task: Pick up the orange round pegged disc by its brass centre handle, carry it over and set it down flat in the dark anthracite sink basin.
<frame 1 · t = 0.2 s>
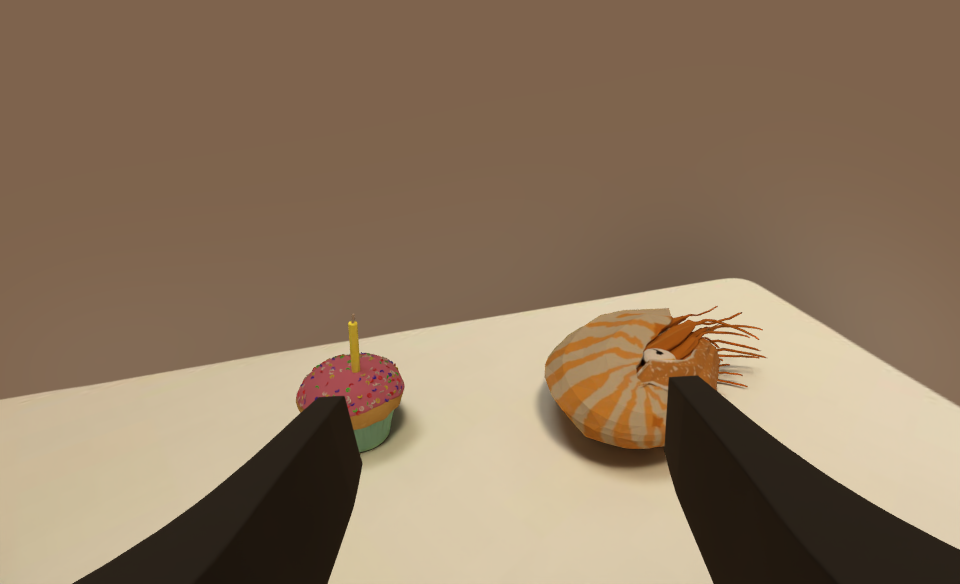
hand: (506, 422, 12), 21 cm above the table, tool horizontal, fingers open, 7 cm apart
cupcake: (360, 436, 45), on the table
nautilus shell: (664, 407, 46), on the table
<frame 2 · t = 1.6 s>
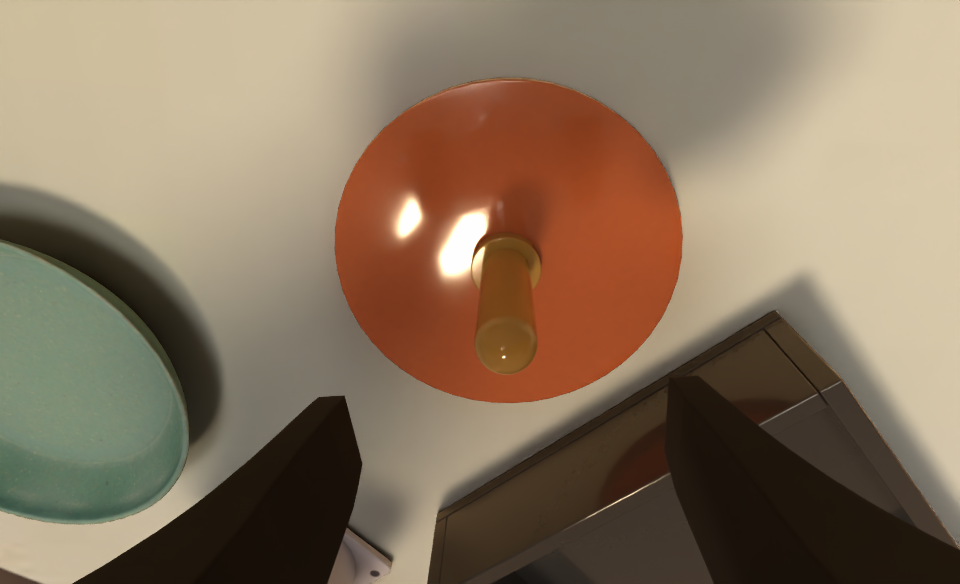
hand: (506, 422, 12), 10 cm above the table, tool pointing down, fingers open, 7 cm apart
sink: (698, 541, 27), on the table
saucer: (58, 360, 24), on the table
orange round pegged disc: (505, 255, 21), on the table
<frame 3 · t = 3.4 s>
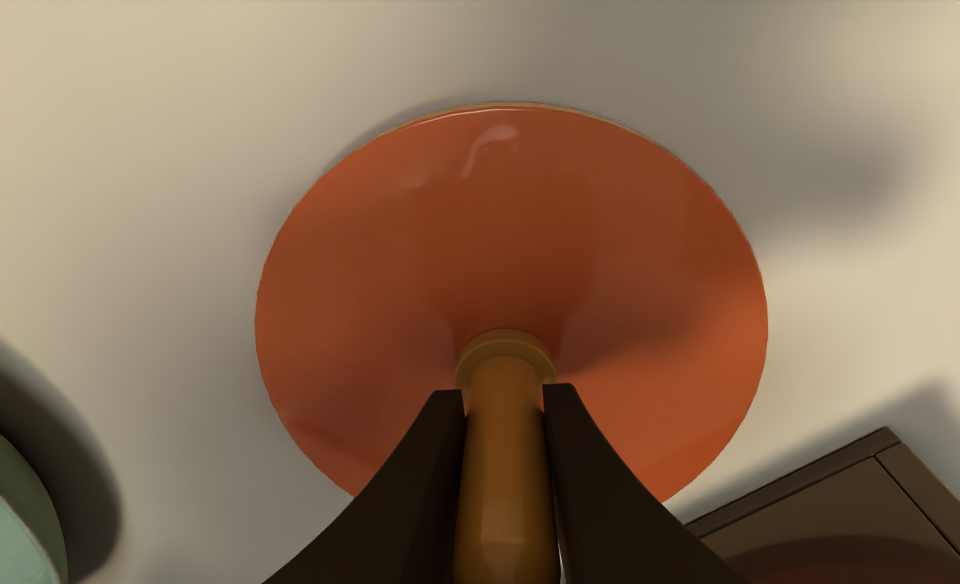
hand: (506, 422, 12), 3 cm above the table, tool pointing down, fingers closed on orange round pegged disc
orange round pegged disc: (505, 352, 14), on the table, touching gripper
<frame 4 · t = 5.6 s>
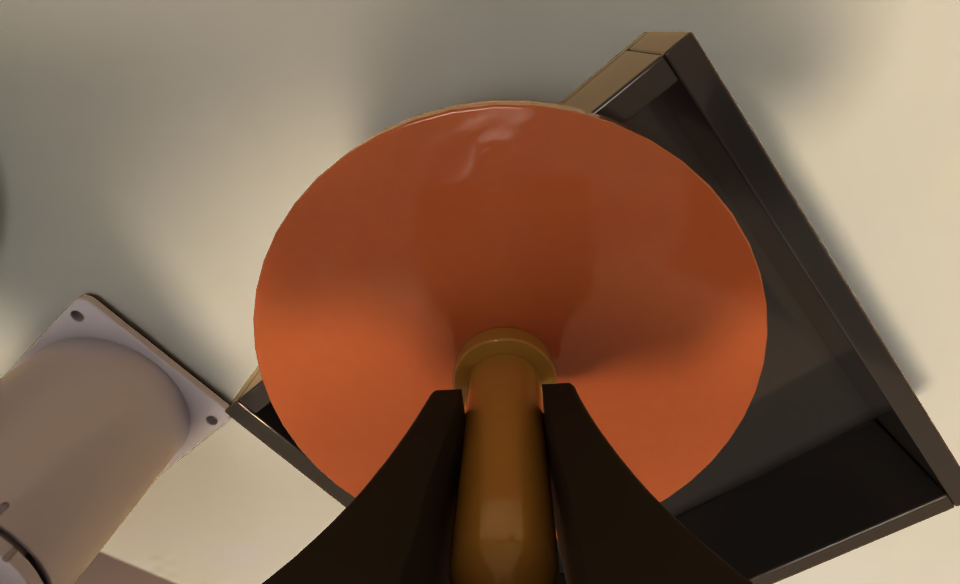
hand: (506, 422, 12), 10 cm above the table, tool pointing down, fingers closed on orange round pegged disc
sink: (585, 376, 23), on the table
orange round pegged disc: (504, 351, 14), point 7 cm above the table, touching gripper
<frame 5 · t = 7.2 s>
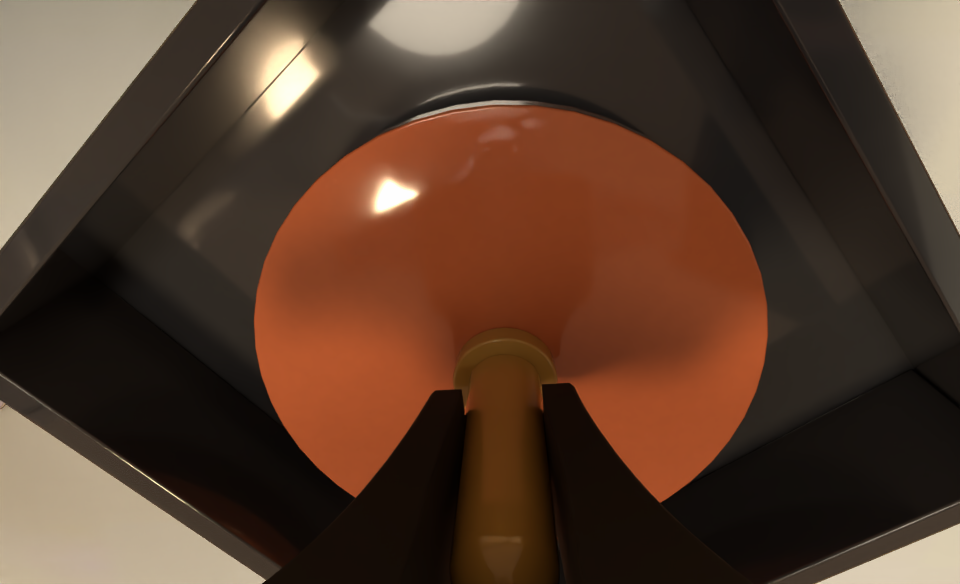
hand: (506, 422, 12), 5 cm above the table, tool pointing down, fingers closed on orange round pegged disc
sink: (506, 312, 17), on the table
orange round pegged disc: (505, 351, 14), point 2 cm above the table, touching gripper
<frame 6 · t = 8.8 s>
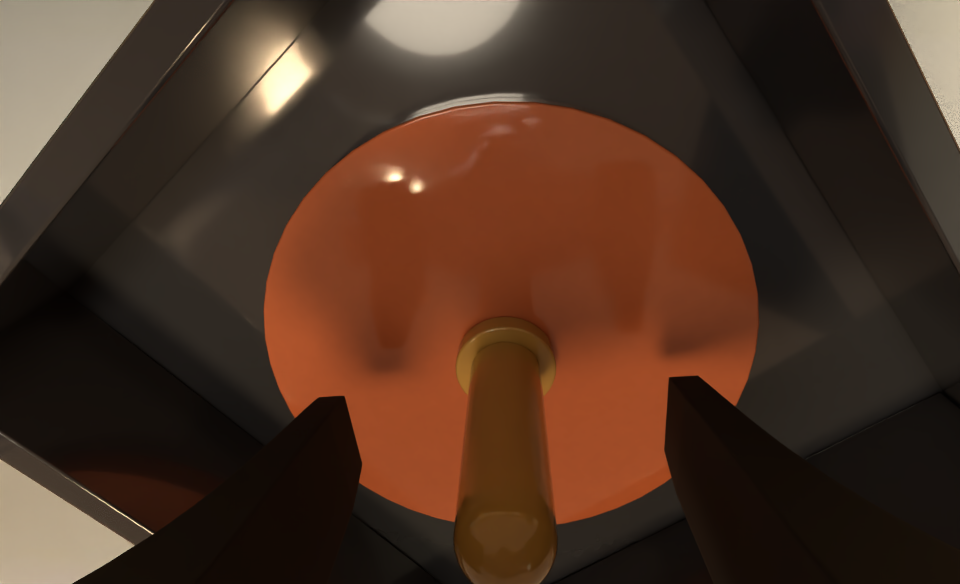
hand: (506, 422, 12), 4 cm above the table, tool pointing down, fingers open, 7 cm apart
sink: (506, 330, 16), on the table
orange round pegged disc: (505, 340, 15), point 1 cm above the table, touching sink
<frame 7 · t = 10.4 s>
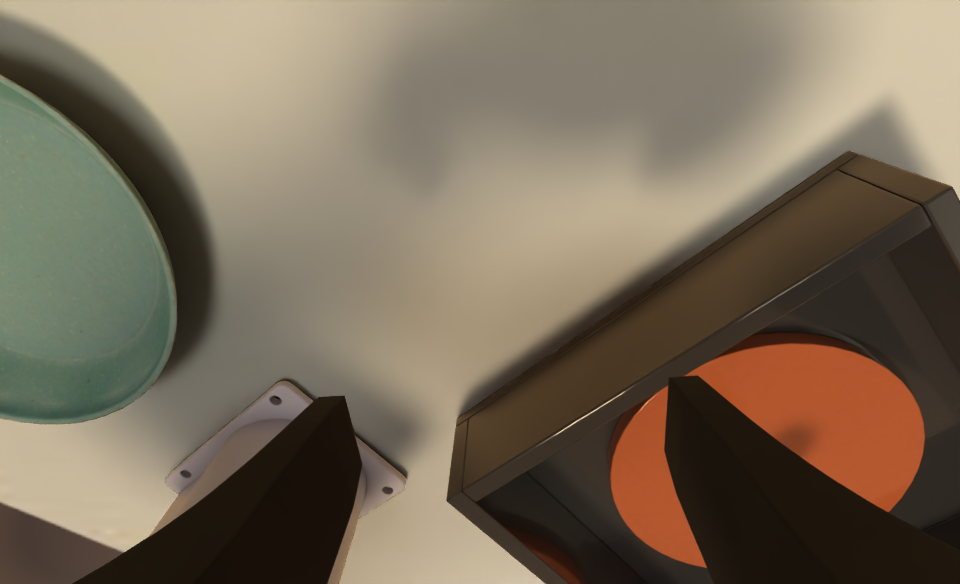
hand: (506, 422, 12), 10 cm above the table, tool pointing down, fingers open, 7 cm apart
sink: (748, 447, 24), on the table
saucer: (31, 236, 22), on the table
orange round pegged disc: (753, 456, 24), point 1 cm above the table, touching sink
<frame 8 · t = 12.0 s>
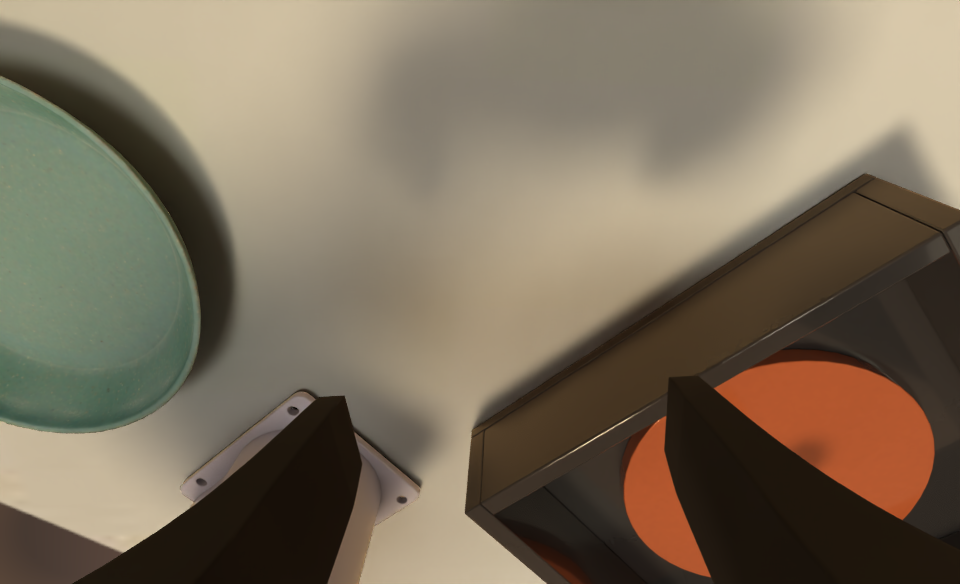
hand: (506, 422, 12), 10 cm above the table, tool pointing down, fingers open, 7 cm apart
sink: (759, 460, 25), on the table
saucer: (54, 247, 22), on the table
orange round pegged disc: (764, 469, 24), point 1 cm above the table, touching sink
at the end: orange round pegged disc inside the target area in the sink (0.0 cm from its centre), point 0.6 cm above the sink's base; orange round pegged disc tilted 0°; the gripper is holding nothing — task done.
